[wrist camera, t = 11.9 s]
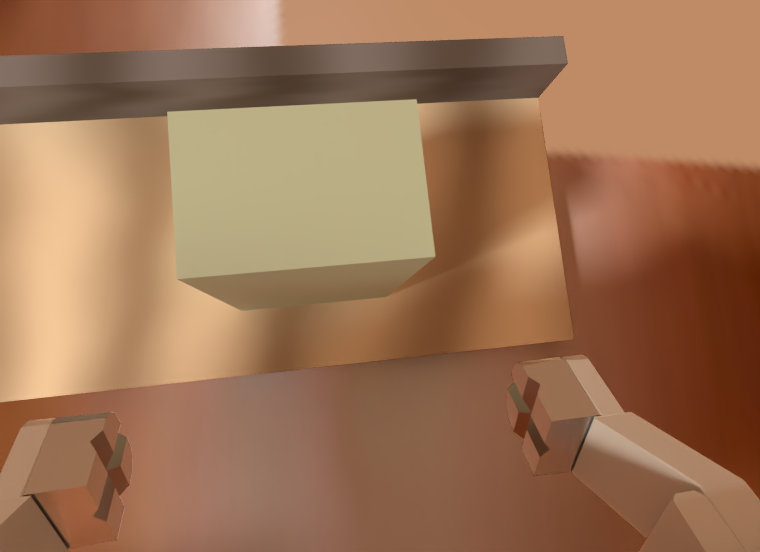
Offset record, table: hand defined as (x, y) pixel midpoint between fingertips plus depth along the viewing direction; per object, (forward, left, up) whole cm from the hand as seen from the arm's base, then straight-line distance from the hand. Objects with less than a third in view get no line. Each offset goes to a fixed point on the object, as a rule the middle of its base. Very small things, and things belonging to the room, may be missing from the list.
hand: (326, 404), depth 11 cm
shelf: (-1, +7, -12) cm, 14 cm away
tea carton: (0, +5, -11) cm, 12 cm away
